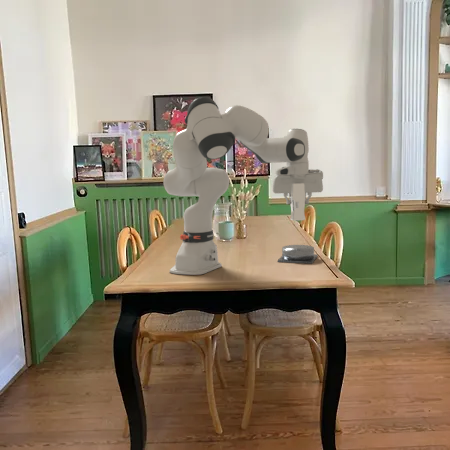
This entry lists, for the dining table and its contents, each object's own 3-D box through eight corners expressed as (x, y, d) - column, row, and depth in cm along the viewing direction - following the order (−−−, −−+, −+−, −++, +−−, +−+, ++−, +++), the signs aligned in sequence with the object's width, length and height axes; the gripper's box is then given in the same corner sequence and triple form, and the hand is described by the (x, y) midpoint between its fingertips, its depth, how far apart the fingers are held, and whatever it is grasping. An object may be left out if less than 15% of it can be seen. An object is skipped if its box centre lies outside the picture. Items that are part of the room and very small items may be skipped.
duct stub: (312, 263, 193) (312, 251, 192) (277, 261, 198) (277, 250, 197) (317, 256, 206) (317, 245, 205) (285, 254, 211) (285, 244, 210)
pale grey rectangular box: (298, 218, 204) (298, 182, 202) (309, 219, 198) (309, 182, 196) (285, 219, 200) (285, 183, 198) (296, 221, 194) (296, 183, 192)
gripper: (321, 169, 200) (321, 202, 202) (271, 170, 199) (272, 203, 201) (324, 169, 193) (324, 204, 195) (273, 170, 193) (274, 205, 195)
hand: (297, 204), depth 198 cm, fingers closed on pale grey rectangular box, 6 cm apart
